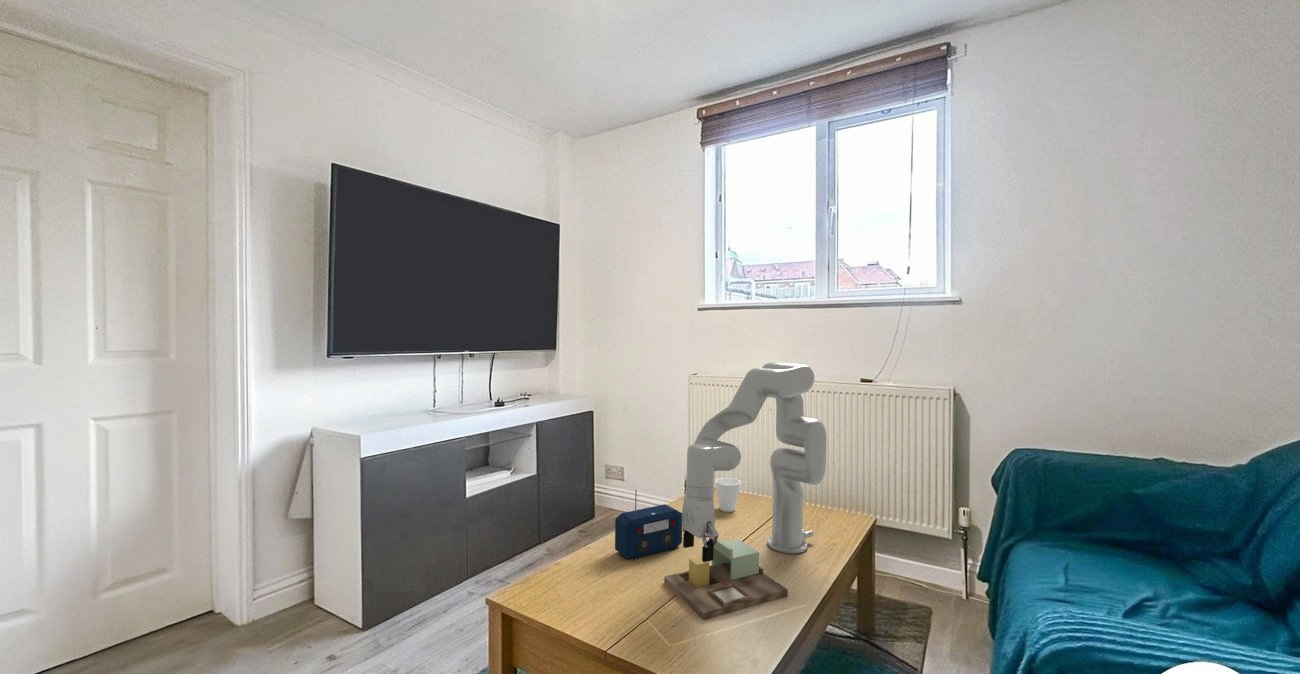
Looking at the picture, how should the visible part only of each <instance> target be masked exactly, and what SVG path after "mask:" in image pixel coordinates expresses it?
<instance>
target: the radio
mask: <svg viewBox="0 0 1300 674" xmlns="http://www.w3.org/2000/svg"><path fill="white" fill-rule="evenodd" d="M637 493H638V491H637V488H636V489H635V500H634V504H635V505H634V510H629V511H626V512H622V513H620V514H619V515H618V516H616V517H615V519H614V521H615V522H614V523H615V524H614V550H615V551H617V552H618V553H619V554H620V555H622V556H623V557H624V558H626V559H628V560H631V559H633V560H636V559H635V558H637V559H640V558H643V557H647V556H653V555H655V554H659V553H662V552H667V551H671V550H675V549H677V548H678V547H679V546H680V545H681V544H683V527H682V519H681V513H682V511H679V510H678V509H675V508H673V507H672V506H670V505H667V504H661V505H660V504H659V505H655V506H651V507H650V506H649V507H644V508H640V509H637ZM639 557H640V558H639Z"/></svg>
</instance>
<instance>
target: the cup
mask: <svg viewBox="0 0 1300 674" xmlns="http://www.w3.org/2000/svg"><path fill="white" fill-rule="evenodd" d="M714 483H715V486H716V493H717V498H718V499H717V501H718V507H719V510H721V511H722V512H726V513H732V512H735V511H736V509H737V502H738V498H739V496H738V495H739V492H740V486H741V483H742V482H741V480H740V479H737V478H731V477H720V478H719V477H718V478H716V479H714Z"/></svg>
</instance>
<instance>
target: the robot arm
mask: <svg viewBox="0 0 1300 674" xmlns="http://www.w3.org/2000/svg"><path fill="white" fill-rule="evenodd" d="M814 383H815V373H814V370H813V369H812V368H811V367H810V366H809V365H806V364H803V363H802V364H801V363H789V362H775V361H774V362H767V363H765V364H764V365H763V366H762V367H757V368H751V369H750V370H749V371H748V372H747V373H746V374H745V377H744V378H743V380H742V381H741V383H740V385H739V387H738V389H737V391H736V393H735V394H734V396H733V398H732V399H731V402H730V404H728V406H727V407H725V408H724V409H723V410H720V411H719V412H718V413H717V414H715V415H713V416H712V417H711V418H710V419H709V420H708V421H707V422H705V423H704V425H703V426H702V428H701V429H700V431H699V432H698V435H697V436H696V438H695V441H694V443H693V444H691V445H689V446H688V448H687V453H686V479H685V481H686V482H685V493H684V498H683V503H682V511H681V519H682V547H683V549H687V548H692V547H694V545H695V537H696V538H697V539H701V541H702V543H703V546H702V547H701V548H702V552H701V553H702V554H701V556H702V561H703V562H708V561H709V562H712V560H713V553H714V546H715V544H716V543H717V539H718V538H719V532H718V531H717V529H716V527H715V526H716V525H715V522H716V521H715V520H716V518H715V503H714V496H715V495H714V494H715V493H714V492H715V491H714V490H715V472H728V471H732V470H734V469H735V468H738V466H739V465H740V463H741V460H742V459H741V458H742V454H741V451H740V449H739V447H738V446H736V445H734V444H733V443H730V442H729V443H728V442H725V441H720V440H719V439H720V437H721V436H723V435H724V434H725V433H726V432H729V431H731V430H733V429H736V428H741V427H743V426H748V425H750V424H752V423H754V422H755V421H756V419H757V418H758V415H759V413H760V411H761V409H762V407H763V405H764V403H765V402H766V400H767V399H768V398H771V399H775V405H776V406H775V407H776V408H775V411H776V413H775V434H776V439H777V440H778V441H779V442H781V443H782V444H785V445H788V446H792V447H793V446H794V447H798V448H803V449H804V450H800V449H795V448H791V447H779V448H776V449H775V450H773V452H772V454H771V456H770V460H769V462H770V470H771V471H770V472H771V477H772V521H771V522H772V523H771V524H772V525H771V526H772V530H771V531H772V532H771V536H769V537H768V538H767V542H766V543H767V546H768V547H769V548H770V549H772V550H774V551H776V552H779V553H785V554H800V553H804V552H805V550H806V549H807V550H808V543H807V541H806V539H808V538H812V537H813V536H814V535H815V534H814V532H813V530H807V531H805V530H804V528H803V527H804V491H803V486H802V484H801V483H803V484H807V485H811V486H813V485H814V486H815V485H816V486H817V485H819V484H821V483H822V481H823V480H824V478H825V475H826V471H827V469H826V467H827V442H828V441H827V431H826V428H825V425H824V423H822V422H821V420H819V419H817V418H811V417H806V416H805V415H804V399H803V396H802V394H804V393H805V394H806V393H807V392H809V391H810V390H811V388H812V387H813V385H814ZM707 538H708V540H707ZM718 540H719V539H718ZM807 550H806V551H807Z"/></svg>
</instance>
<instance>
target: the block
mask: <svg viewBox="0 0 1300 674" xmlns="http://www.w3.org/2000/svg"><path fill="white" fill-rule="evenodd" d="M709 566H710V561H708V562H703V561H702V555H699V556H695V557H691V558H688V571H689V584H690V585H691V586H692V587H694V588H695V589H697V588H701V587H705V586H709Z"/></svg>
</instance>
